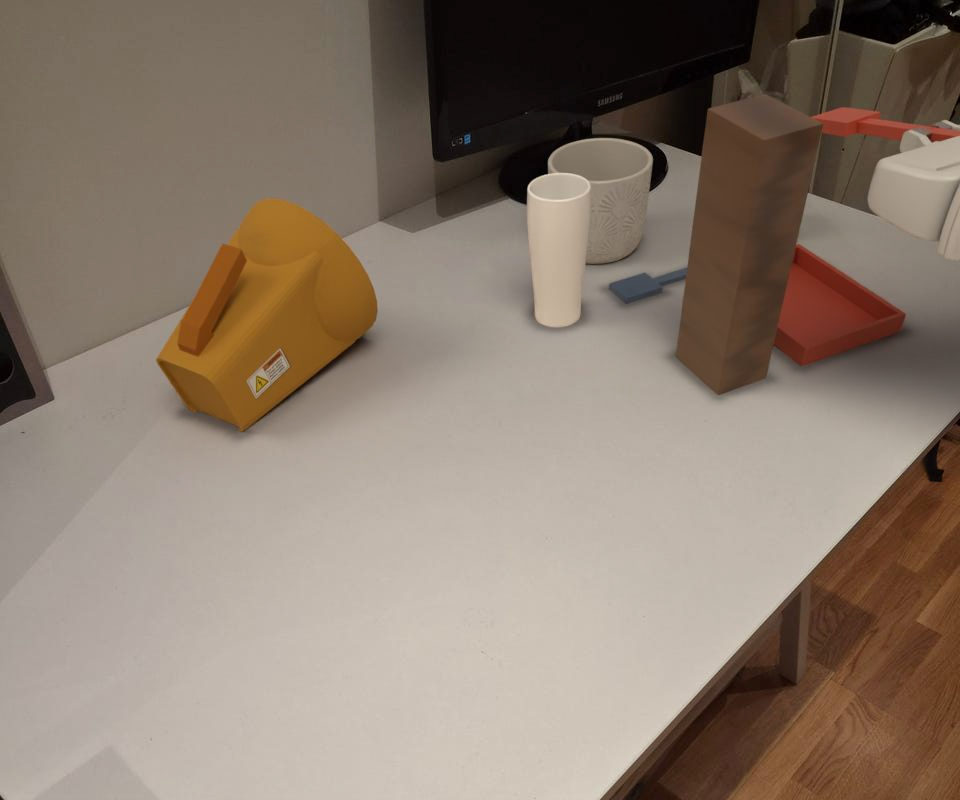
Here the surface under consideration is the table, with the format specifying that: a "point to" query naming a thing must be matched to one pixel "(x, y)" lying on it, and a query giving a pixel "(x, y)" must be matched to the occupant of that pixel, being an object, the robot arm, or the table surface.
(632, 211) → the planter
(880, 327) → the red tray
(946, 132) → the red spoon
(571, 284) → the drinking glass
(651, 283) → the blue spoon
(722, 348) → the stand
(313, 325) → the flared yellow plastic housing
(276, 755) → the table surface
